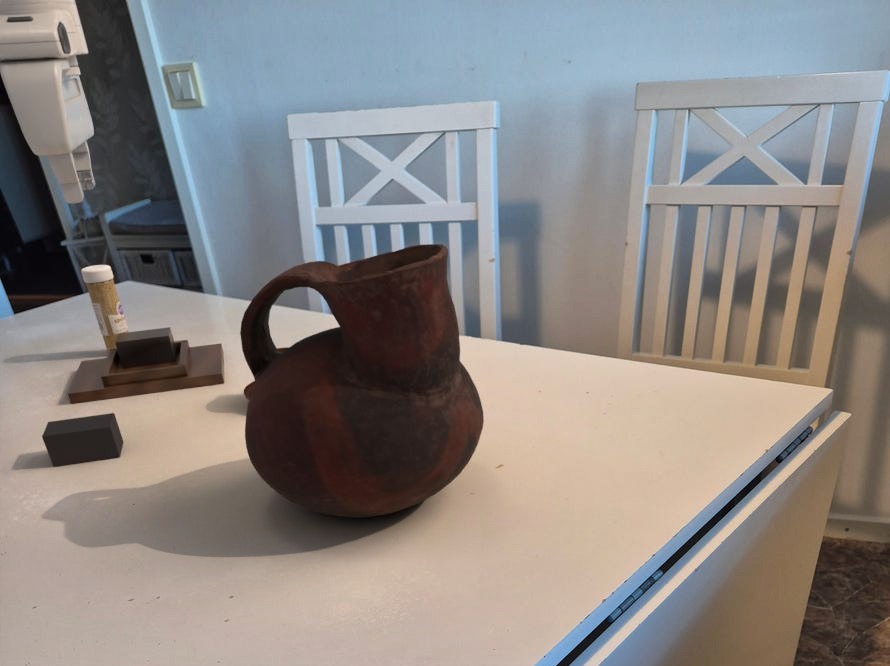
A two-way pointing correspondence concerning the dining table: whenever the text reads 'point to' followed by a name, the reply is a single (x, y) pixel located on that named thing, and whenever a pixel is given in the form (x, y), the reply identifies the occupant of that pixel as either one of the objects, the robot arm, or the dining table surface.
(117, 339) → the brown stepped wooden stand
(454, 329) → the jug
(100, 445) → the pad
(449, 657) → the dining table surface
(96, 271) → the sprinkles bottle
